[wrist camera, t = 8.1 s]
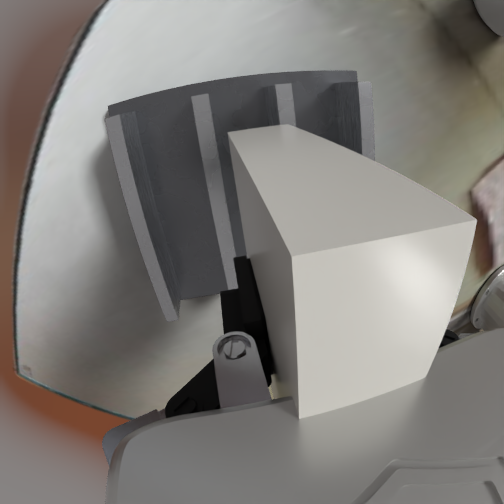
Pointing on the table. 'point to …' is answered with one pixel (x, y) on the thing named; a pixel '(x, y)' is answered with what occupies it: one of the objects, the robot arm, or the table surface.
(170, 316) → the dish rack
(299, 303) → the cream white block
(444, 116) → the table surface
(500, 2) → the can
